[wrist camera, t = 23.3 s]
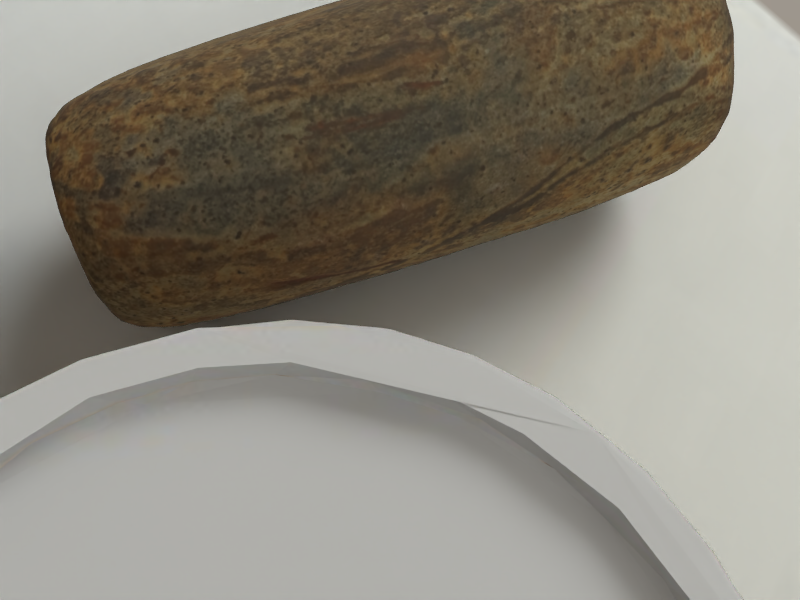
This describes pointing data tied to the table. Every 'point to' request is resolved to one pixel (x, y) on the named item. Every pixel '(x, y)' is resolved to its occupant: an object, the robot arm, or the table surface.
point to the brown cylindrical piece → (374, 142)
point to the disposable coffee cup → (324, 479)
